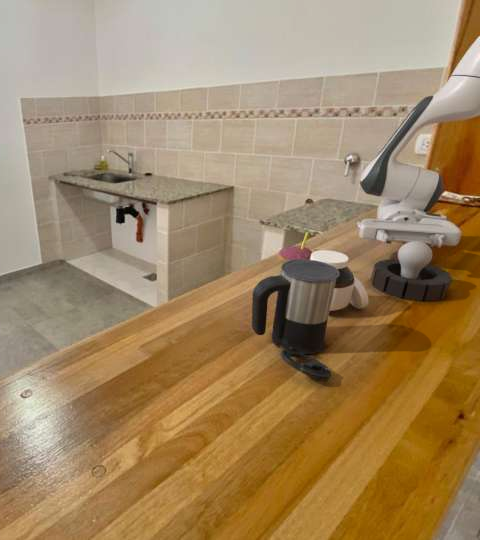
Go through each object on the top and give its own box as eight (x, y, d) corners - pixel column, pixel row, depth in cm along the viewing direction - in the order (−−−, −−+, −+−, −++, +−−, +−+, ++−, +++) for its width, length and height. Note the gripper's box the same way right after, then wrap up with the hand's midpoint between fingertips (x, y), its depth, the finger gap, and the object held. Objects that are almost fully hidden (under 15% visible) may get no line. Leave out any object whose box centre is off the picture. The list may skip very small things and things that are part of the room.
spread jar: (288, 301, 85) (295, 252, 80) (322, 288, 89) (331, 241, 85) (338, 326, 75) (350, 272, 70) (374, 310, 80) (387, 258, 75)
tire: (436, 278, 91) (441, 263, 89) (453, 306, 79) (459, 288, 78) (368, 270, 96) (371, 256, 95) (374, 295, 85) (378, 279, 83)
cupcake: (313, 269, 99) (321, 225, 94) (310, 282, 92) (317, 236, 87) (278, 264, 103) (284, 221, 98) (272, 276, 97) (278, 231, 92)
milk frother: (298, 322, 77) (309, 254, 71) (371, 368, 63) (391, 289, 57) (240, 340, 73) (246, 270, 66) (304, 393, 59) (319, 311, 53)
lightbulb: (396, 292, 86) (408, 246, 81) (385, 280, 91) (396, 237, 87) (427, 293, 84) (441, 247, 80) (415, 281, 90) (427, 237, 85)
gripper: (358, 210, 103) (363, 225, 92) (453, 215, 94) (471, 233, 83) (353, 232, 105) (357, 250, 94) (446, 239, 97) (462, 259, 86)
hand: (412, 242), depth 89 cm, fingers open, 8 cm apart
